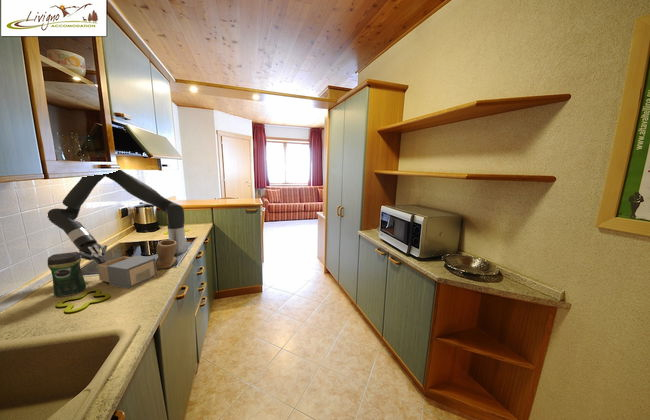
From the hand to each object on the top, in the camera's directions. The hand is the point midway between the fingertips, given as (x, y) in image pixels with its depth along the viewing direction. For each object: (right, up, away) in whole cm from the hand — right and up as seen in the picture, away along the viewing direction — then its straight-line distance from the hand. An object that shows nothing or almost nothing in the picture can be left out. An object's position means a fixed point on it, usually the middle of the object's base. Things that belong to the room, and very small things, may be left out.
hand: (103, 263), depth 119 cm
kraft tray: (+15, -7, -2) cm, 17 cm away
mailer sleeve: (+19, -8, -3) cm, 21 cm away
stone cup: (+23, -5, +16) cm, 28 cm away
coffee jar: (0, -10, -15) cm, 18 cm away
